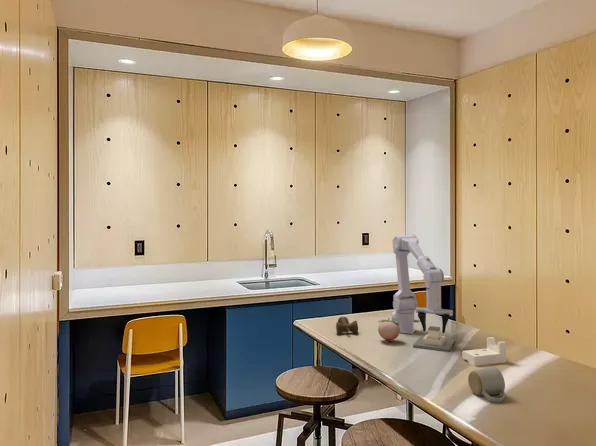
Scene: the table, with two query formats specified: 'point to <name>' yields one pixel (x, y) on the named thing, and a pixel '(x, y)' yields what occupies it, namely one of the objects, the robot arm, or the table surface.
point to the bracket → (487, 353)
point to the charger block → (434, 332)
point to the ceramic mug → (487, 383)
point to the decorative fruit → (389, 329)
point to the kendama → (346, 326)
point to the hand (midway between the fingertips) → (434, 331)
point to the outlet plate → (434, 343)
